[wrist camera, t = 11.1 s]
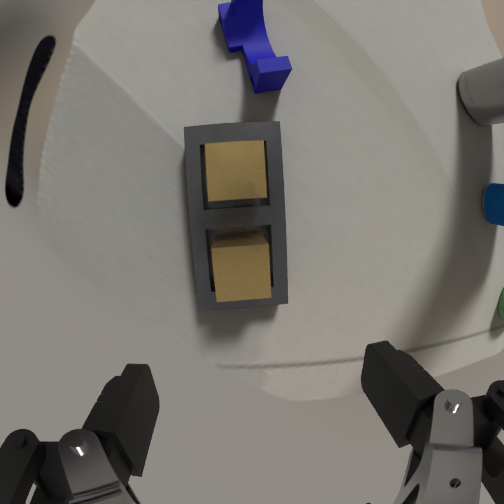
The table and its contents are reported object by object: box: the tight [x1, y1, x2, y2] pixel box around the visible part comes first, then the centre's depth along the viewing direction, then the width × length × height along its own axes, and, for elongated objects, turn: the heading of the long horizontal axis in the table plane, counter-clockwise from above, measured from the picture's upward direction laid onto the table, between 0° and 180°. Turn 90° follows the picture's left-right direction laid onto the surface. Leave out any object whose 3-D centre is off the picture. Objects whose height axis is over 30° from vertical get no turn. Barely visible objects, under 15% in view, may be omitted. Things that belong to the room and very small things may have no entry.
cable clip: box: [218, 0, 292, 93], centre depth 23 cm, size 12×4×6 cm, turn 14°
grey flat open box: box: [184, 121, 288, 310], centre depth 28 cm, size 9×18×4 cm, turn 3°
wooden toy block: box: [211, 230, 271, 302], centre depth 26 cm, size 4×4×8 cm
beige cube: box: [205, 140, 267, 201], centre depth 24 cm, size 4×4×8 cm
